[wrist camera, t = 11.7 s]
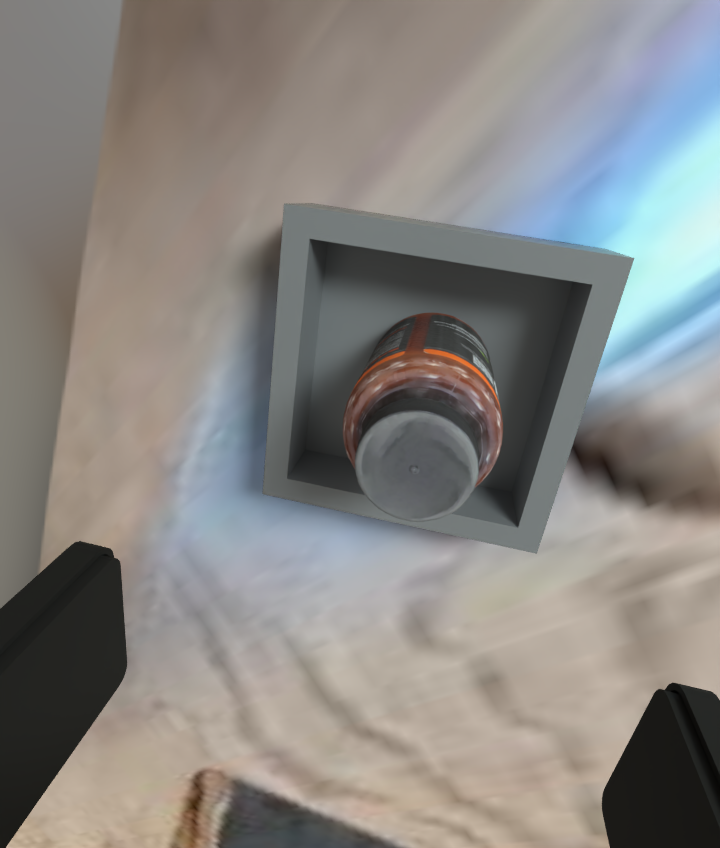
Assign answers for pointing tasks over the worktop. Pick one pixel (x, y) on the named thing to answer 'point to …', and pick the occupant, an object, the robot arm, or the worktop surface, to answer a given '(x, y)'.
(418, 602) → the worktop surface
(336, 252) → the bin
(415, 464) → the supplement bottle
